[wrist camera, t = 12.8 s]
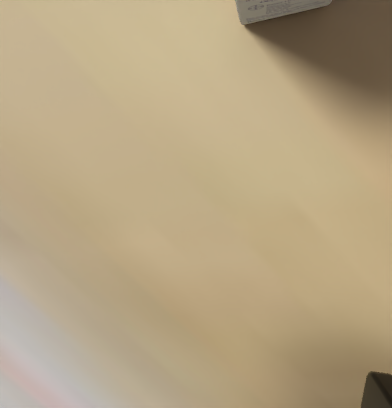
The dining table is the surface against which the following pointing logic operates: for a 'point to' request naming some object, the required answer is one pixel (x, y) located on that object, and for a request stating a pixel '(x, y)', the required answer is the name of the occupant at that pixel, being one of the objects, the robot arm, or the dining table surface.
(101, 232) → the dining table surface
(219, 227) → the dining table surface
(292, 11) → the medicine box
